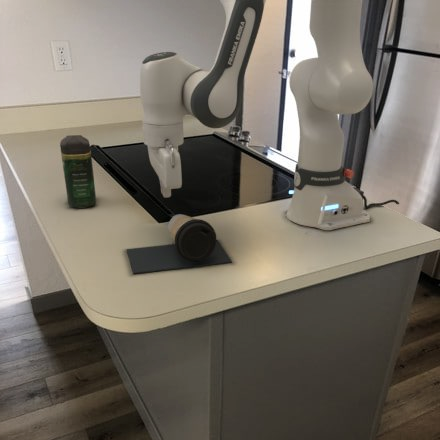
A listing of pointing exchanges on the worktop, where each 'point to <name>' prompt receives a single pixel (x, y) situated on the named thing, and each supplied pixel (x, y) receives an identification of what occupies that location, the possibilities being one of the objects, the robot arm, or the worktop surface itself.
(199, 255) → the coffee cup
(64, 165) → the coffee jar
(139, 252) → the mat
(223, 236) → the worktop surface
